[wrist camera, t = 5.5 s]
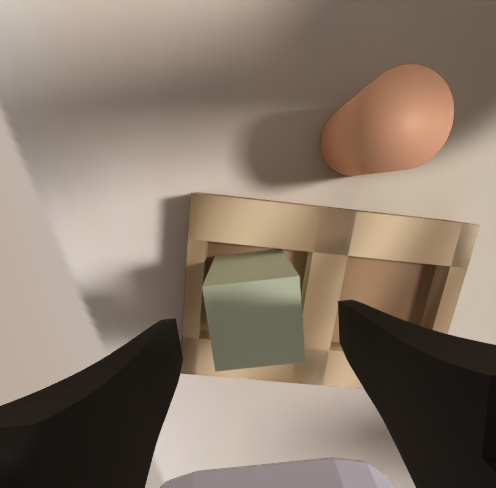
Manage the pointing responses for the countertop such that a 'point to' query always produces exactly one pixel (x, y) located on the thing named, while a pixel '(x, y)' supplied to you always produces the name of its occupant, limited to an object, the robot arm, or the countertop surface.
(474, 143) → the countertop surface
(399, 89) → the terracotta dowel
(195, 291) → the pocket board
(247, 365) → the sage cube
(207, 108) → the countertop surface
